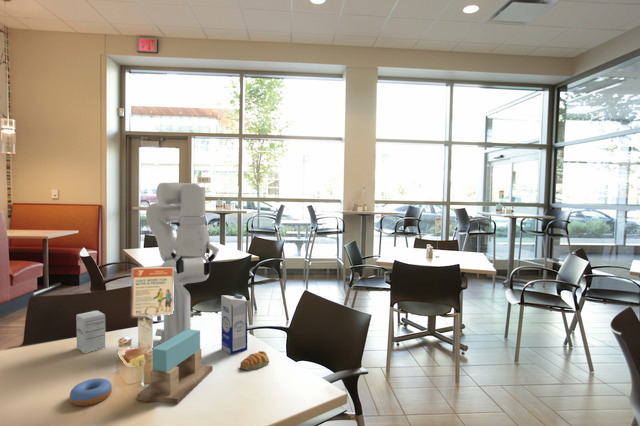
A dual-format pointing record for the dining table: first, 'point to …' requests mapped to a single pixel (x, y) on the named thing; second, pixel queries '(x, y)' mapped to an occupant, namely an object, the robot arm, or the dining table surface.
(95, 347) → the supplement box
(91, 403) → the doughnut
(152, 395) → the display stand
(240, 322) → the milk carton
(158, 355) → the pale blue rectangular prism
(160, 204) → the robot arm
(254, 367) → the pastry
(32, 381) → the dining table surface
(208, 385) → the dining table surface
